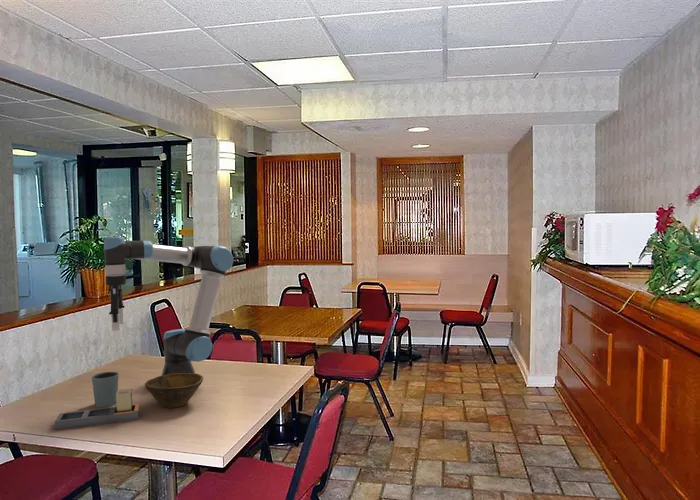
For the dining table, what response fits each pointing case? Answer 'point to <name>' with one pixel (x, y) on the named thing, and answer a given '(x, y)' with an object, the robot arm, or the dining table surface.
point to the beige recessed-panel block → (124, 400)
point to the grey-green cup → (105, 388)
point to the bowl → (174, 388)
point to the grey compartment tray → (95, 417)
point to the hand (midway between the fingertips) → (118, 327)
